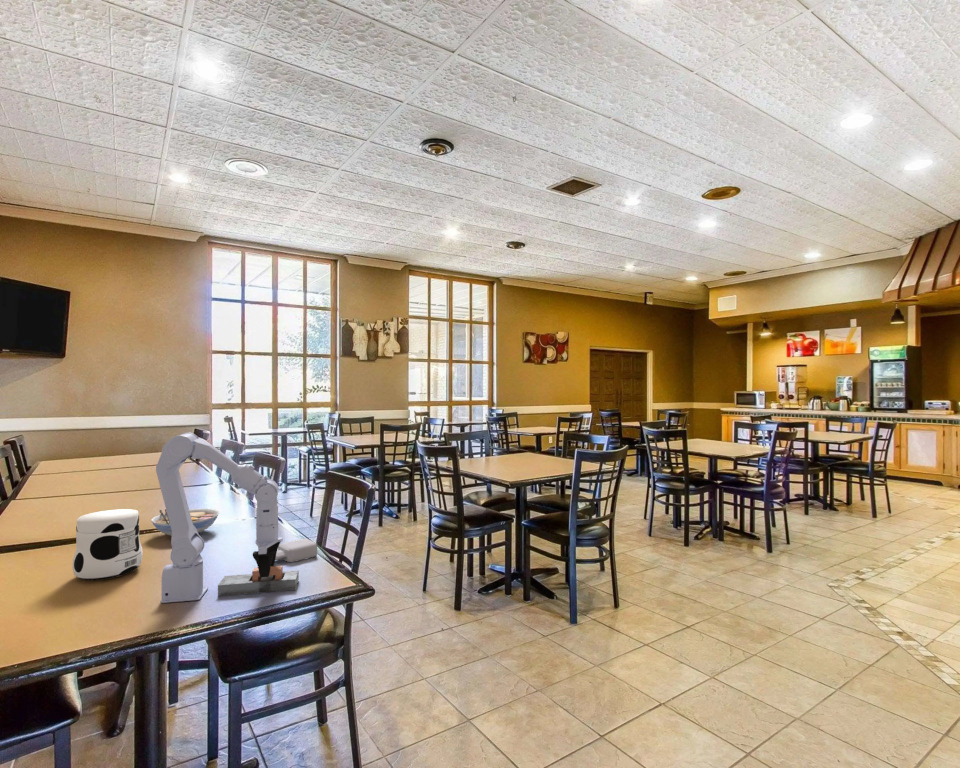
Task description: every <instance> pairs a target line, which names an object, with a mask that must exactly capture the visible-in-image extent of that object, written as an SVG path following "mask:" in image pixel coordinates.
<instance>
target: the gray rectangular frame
mask: <svg viewBox="0 0 960 768" xmlns="http://www.w3.org/2000/svg"><path fill="white" fill-rule="evenodd" d="M299 571H300V570H290V571H289V570H287V571H283V579H275V575H269V576H268V577H260V580H259V581H252V573H246V574H236V575H235V574H234V575H224V576H223V578H222V579H221V580H220V582H219V583H218V584H217V597H227V596H239V595H240V596H241V595H251V594H252V595H253V594H262V593H263V594H264V593H275V592H274V591H277V592H285V591H284V590H290V591H296V590H295V589H297V587H298V584H297V583H299V581H298V580H300V579H299V577H300V575H299V573H300V572H299ZM296 586H297V587H296Z"/></svg>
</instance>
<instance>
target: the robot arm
mask: <svg viewBox="0 0 960 768" xmlns="http://www.w3.org/2000/svg"><path fill="white" fill-rule="evenodd" d="M161 448H162V449H161V453H160V456H159V459H158V461H157V463H156V467H155V471H156V472H155V473H156V476H157V480H158V484H159V487H160V488H159V489H160V491H161V492H160V493H161V495H162V499H163V502H164V503H163V504H164V506H165V509H166V511H167V515H168V518H169V522H170V526H171V530H172V536H171V539H170V540H171V541H170V543H171V551H170V561H171V564H166V565H164V567H163V569H162V573H161V600H160V604H165V603H166V604H167V603H177V602H189V601H192V602H193V601H199V600H201V598H202V597H203V596H204V595H205V593H206V592H207V591H208V590H209V588H208V586H206V587H205V586H204V577H203V576H204V558H203V557H202V554H201V553H202V552H203V550H204V548H205V540H204V538H203V537H201V535H200V534H199V533H198V532H197V529H196V527H195V526H194V525H193V523H192V519H191V515H190V511H189V504H188V501H187V500H188V499H187V497H186V493H185V490H184V485H183V481H182V477H181V474H180V469H181V468H182V466H183V465H184V464H185V462H186V461H187V460H188V459H189V458H190V457H191V459H192V460H193V459H195V460H196V459H197V460H206V461H208V462H209V463H211V464H213V465H214V466H216V467H218V468H219V469H221V470H223V471H224V472H226V473H227V474H229V475H230V477H231V482H232V483H234V484H235V485H237V486H239V487H240V488H241V489H243V490H244V491H246V492H247V493H249V494H250V495H254V498H255V500H256V510H255V511H256V514H255V515H256V516H255V518H256V521H255V523H256V524H255V525H256V527H255V529H256V531H255V532H256V534H255V536H256V537H255V545H256V546H257V549H258V550H257V551H256V550H255V551H253V552H252V558H253V559H254V561H255V562H256V564H257V567H258V569H259V574H260V577H268V576H269V574H270V568H271V566H275V563H276V560H275V558H276V553H277V551H278V547H279V545H280V544H281V542H282V541H283V539H284V538H283V537H282V536H281V537H279V506H278V505H279V504H278V503H279V502H278V501H279V500H278V493H279V491H280V488H279V485H278V483H277V482H276V481H275V480H274V479H272V478H269V476H267V475H265V476H264V475H263V474H262V473H260V472H258V471H257V470H256V469H255V466H254V465H252V464H250V465H248V464H245V463H244V464H239V463H237V462H235V461H234V460H233V459H231V458H230V457H229V456H227V454H225V453H223V451H221V450H219V449H218V448H217V447H215V446H214V445H213V444H212V443H210V442H208V441H206V439H204V438H202V437H199V436H198V435H196V434H195V433H192V432H184V433H181V434H179V435H175V436H173V437H170V438H169V440H167V441H166V443H165V444H164V445H163V446H162V447H161Z"/></svg>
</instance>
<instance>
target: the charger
mask: <svg viewBox="0 0 960 768" xmlns="http://www.w3.org/2000/svg"><path fill="white" fill-rule="evenodd" d="M317 555H318V543H316V541H313V540H311V539H309V538H308V537H307V538H306V537H305V538H301V539H297V540H291V541H287V542H283V543H280V544H279V547H278V549H277V553H276V558H275V561H278V560H283V561H285V562H286V561H287V563H290V562H292V563H295V562H294V561H296V562H299V561H298V560H300V561H303V560H302V559H304V560H307V558H308V559H310V558H311V557H312V558H316V557H317Z"/></svg>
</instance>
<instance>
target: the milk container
mask: <svg viewBox="0 0 960 768" xmlns="http://www.w3.org/2000/svg"><path fill="white" fill-rule="evenodd" d="M75 531H76V532H75V533H76V534H75V539H76V540H75V541H76V544H75V545H76V546H75V547H76V548H75V552H74V555H73V558H72V562H71V563H72V571H73V575H74V577H76V578H77V579H79V580H83V581H102V580H104V581H105V580H109V579H115V578H118V577H122V576H125V575H127V574H130V573H132V572H134V571H135V570H137V569H138V568H139V567H140V566H141V564H142V561H143V557H144V555H143V554H144V553H143V547H142V544H141V540H140V515H139V510H137V509H130V508H126V509H125V508H120V509H108V510H100V511H95V512H90V513H87V514H83V515H81V516H79V517H78V518H77V520H76V527H75Z"/></svg>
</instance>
